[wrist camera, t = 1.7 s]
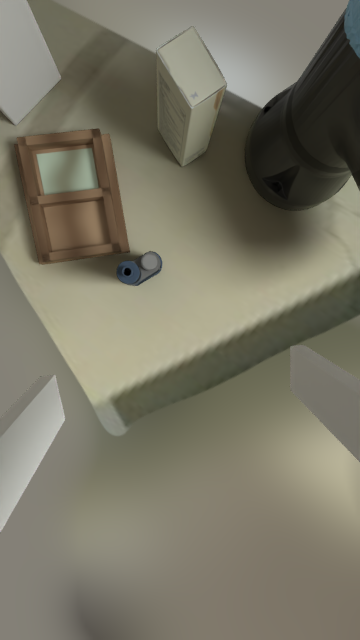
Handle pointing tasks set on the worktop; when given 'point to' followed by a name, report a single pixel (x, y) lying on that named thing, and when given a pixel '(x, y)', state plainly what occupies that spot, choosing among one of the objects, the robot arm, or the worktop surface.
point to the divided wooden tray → (72, 195)
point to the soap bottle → (23, 61)
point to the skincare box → (187, 94)
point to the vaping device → (139, 269)
